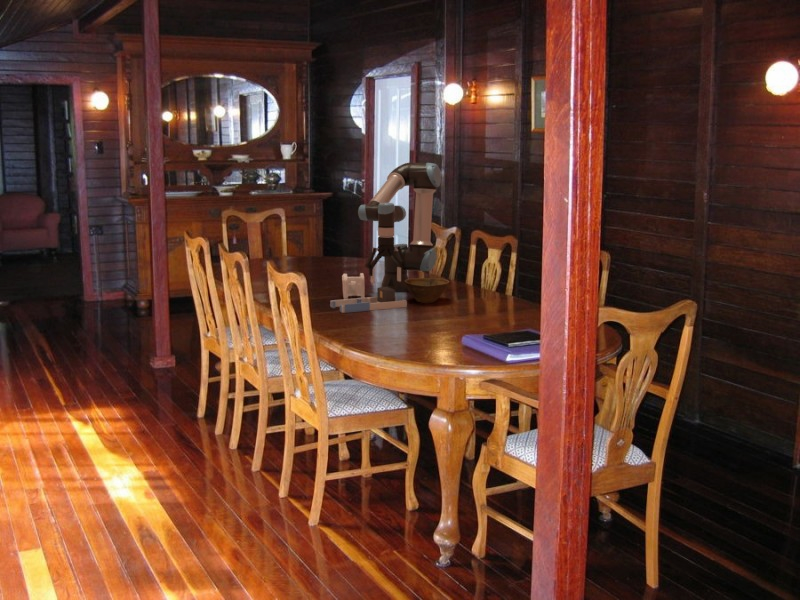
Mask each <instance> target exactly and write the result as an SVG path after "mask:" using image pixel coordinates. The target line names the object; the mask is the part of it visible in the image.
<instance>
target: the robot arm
mask: <svg viewBox="0 0 800 600" xmlns="http://www.w3.org/2000/svg"><path fill="white" fill-rule="evenodd" d="M441 183H442V173H441V169H440V167H439V165H438V164H436V163H433V162H405V163H403V164H401V165H399V166H397V167H395V168H393V170H392V171H391V172H389V174H388V175H387V178H386V181H385V182H384V183H383V185H382V186H380V189H378V191H377V192H376V193H375V194H374V196H373V197H372V198H371V199H370V201H369V202H367V204H365V203H364V204H361V205H360V206H358V210H357V215H358V218H359V220H361V221H365V222H366V221H367V222H368V221H369V222H377V236H378V237H377V247H374V246H373V247H371V248H370V249H371V250H370V253H369V255H368V258H367V260H366V263H365V264H364V267H365V268H366V269H368V276H370V283H371V284H375V266H377V264H378V262H379V261H380V260H381V258H382V257H383V259H384V262H383V263H384V266H383V267H384V275H383V279H382V281H381V285H380V287H389V288H391V289H394V290H395V293H397V292H398V293H399V292H401V293H402V292H407V291H409V290H408V288H407V286H406V284H405V280H406V279H409V275H408V271H415V272H430V271H432V270H433V269H434V267H435V266H436V261H437V257H438V255H437V249H435V248H434V244H433V243H432V241H431V236H432V235H431V234H432V233H431V232H432V215H433V203H434V201H433V198H434V193H435V192H436V191H437V188H438V187H440V186H441ZM408 186H410V187H413V188H412V189H413V191H414V192H415V202H414V204H415V206H414V221H413V222H414V223H413V224H414V225H413V237H412V239H413V240H412V241H411V242H410V243H409V246H408V244H407V243H398V244H396V243H395V237H394V236H395V223H400V222H402V221H404V219H406V216H407V210H406V209H405V207H404V206H402V205H395V204H394V203H393V202H391V201H392V199H393V198H394V197H395V195H397V193H398V192H399V190H400V191H401V190H402V189H404V187H408ZM376 253H377V254H376Z"/></svg>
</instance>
